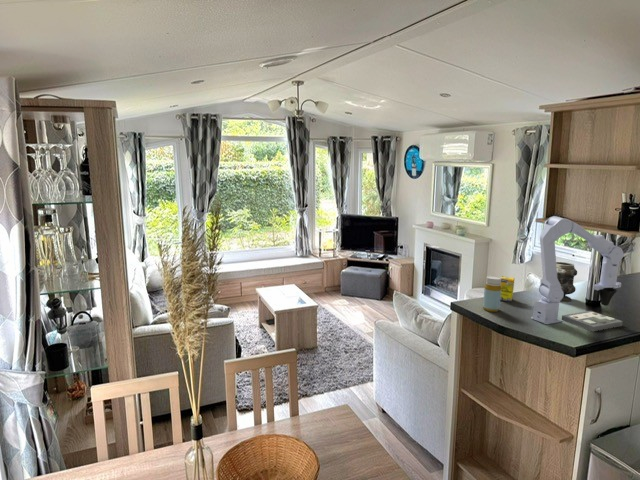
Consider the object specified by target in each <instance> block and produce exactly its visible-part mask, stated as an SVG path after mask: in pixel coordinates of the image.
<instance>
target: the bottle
mask: <svg viewBox="0 0 640 480" xmlns="http://www.w3.org/2000/svg"><path fill="white" fill-rule="evenodd" d="M500 298H501V277H500V276H498V275H495V276H494V275H487V276H486V282H485V285H484V292H483V301H482V308H483V310H484V311H486V312H491V313H496V312H499V311H500V307H501V300H500Z"/></svg>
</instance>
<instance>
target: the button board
mask: <svg viewBox="0 0 640 480" xmlns="http://www.w3.org/2000/svg"><path fill="white" fill-rule="evenodd" d="M592 316H601V317H606V316H607V315H604V314H601V313H599V312H596V311H593V310H588V311H587V310H586V311H581V312H575V313H574V312H573V313H568V314H564V315H561V320H562V322H566V323H569V324H571V325H574V326H577V327H580V328H582V329H585V330H587V331H591V332H597V331H598V330H599V331H603V329H604V330H607V329H608V328H609V329H613V327H614V328H617V327H622V326H623V320H620V319H616V318H614V319H615V321H608V320H606V322H604V323H599V322H596V321H593V320H592ZM583 320H591V321H593V322H596V324H593V325H589V324H586V323H584V322H582V321H583ZM609 329H608V330H609Z"/></svg>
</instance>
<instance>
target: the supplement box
mask: <svg viewBox="0 0 640 480" xmlns="http://www.w3.org/2000/svg"><path fill="white" fill-rule="evenodd" d="M500 278H501V298H500V302H502V301H503V302H508V303H512V300H513V298H514V297H513V296H514V289H515V288H514V287H515V277H509V276H501V277H500Z"/></svg>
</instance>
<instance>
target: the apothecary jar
mask: <svg viewBox="0 0 640 480" xmlns="http://www.w3.org/2000/svg"><path fill="white" fill-rule="evenodd" d="M556 267H557V279H558V281H559V282H560V285H561V289H562V291H563V293H564V296H563V298H562V299H561V300H560V302H572V301H573V300H572V298H571V297H570V296H569V295H571V294H573V293H575V292H576V290H577V289H576V286H575V285H574V279H575V277H576V276H577V275H578V270H577V269H576V268H575V264H574V263H570V262H566V261H565V262H564V261H556ZM567 295H568V296H567Z"/></svg>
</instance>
